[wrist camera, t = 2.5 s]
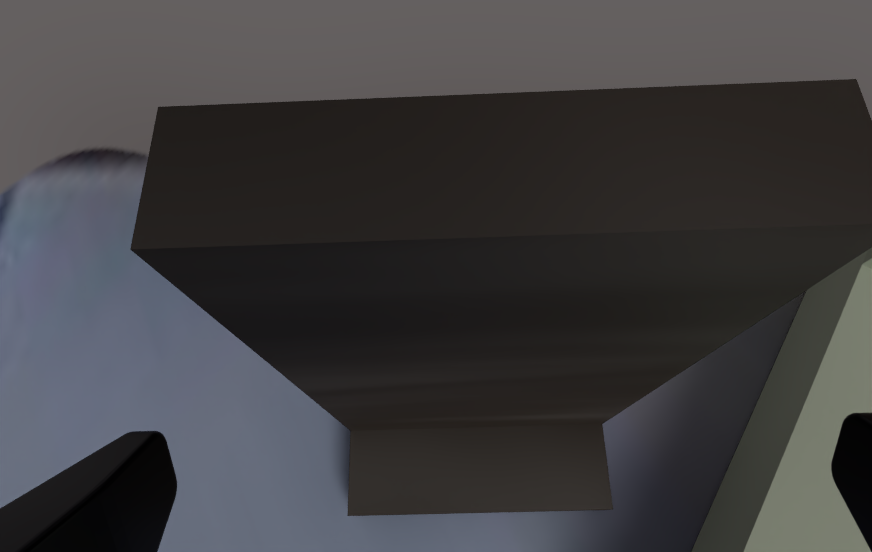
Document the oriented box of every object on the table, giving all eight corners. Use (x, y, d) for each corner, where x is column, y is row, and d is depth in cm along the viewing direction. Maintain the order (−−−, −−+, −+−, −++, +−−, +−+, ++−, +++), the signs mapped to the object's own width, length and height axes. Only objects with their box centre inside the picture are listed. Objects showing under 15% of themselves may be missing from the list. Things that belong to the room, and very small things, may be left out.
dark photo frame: (604, 510, 16) (1007, 485, 4) (353, 515, 17) (81, 507, 5) (579, 306, 19) (799, -76, 7) (359, 313, 19) (187, -48, 7)
